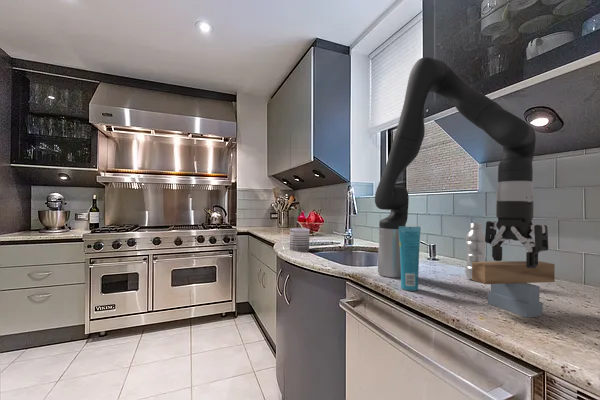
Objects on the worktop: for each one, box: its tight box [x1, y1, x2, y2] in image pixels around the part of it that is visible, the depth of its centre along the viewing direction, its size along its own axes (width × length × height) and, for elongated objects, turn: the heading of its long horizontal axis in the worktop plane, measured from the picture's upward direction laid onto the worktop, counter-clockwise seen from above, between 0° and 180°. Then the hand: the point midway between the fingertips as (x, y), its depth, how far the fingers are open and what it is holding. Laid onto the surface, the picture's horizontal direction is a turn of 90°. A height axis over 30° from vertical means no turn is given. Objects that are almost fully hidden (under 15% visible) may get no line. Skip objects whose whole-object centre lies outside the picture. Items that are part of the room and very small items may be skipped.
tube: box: [399, 225, 421, 292], centre depth 88 cm, size 7×5×19 cm, turn 107°
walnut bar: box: [471, 260, 556, 285], centre depth 72 cm, size 4×20×4 cm, turn 100°
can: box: [289, 227, 310, 252], centre depth 163 cm, size 11×11×12 cm
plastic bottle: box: [464, 222, 487, 280], centre depth 101 cm, size 6×7×20 cm
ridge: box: [487, 283, 544, 318], centre depth 72 cm, size 10×5×7 cm, turn 15°
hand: (513, 264), depth 72 cm, fingers open, 8 cm apart
